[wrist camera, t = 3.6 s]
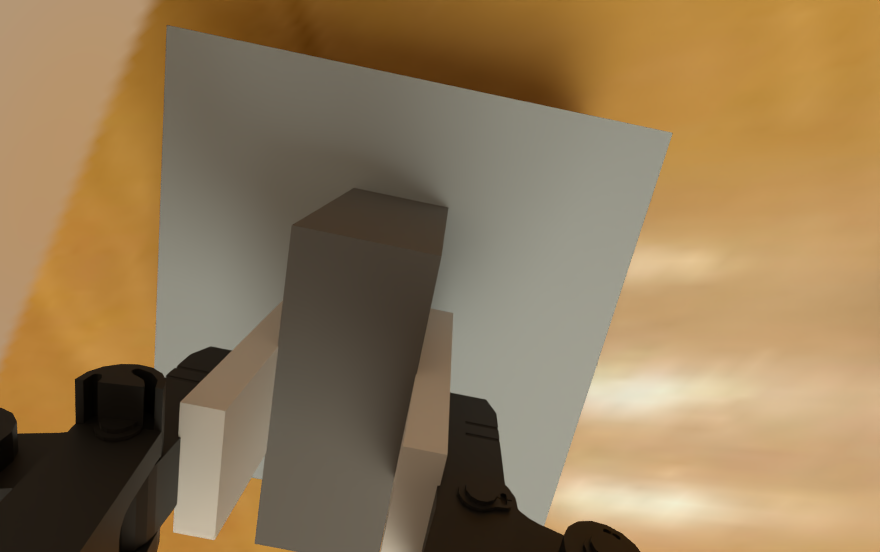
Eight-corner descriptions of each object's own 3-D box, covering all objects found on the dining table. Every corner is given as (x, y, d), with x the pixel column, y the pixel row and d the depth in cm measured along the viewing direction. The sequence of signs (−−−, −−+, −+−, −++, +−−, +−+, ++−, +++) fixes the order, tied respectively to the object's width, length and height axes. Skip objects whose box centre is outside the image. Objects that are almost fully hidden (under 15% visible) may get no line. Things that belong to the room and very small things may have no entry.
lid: (659, 132, 16) (808, 138, 9) (537, 514, 20) (576, 709, 13) (185, 31, 15) (-28, -41, 9) (166, 441, 20) (15, 604, 13)
